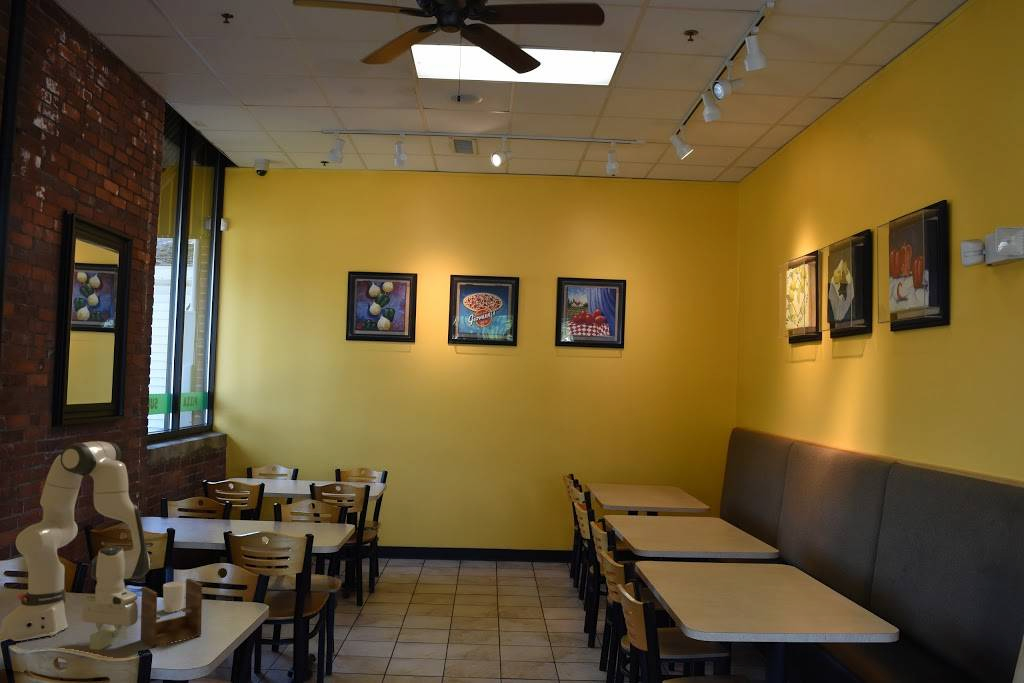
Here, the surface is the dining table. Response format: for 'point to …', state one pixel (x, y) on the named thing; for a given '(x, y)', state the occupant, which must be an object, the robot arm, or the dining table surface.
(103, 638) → the cream rectangular block
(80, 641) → the dining table surface
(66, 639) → the dining table surface
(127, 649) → the dining table surface
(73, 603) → the dining table surface
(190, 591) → the wooden napkin holder
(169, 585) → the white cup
